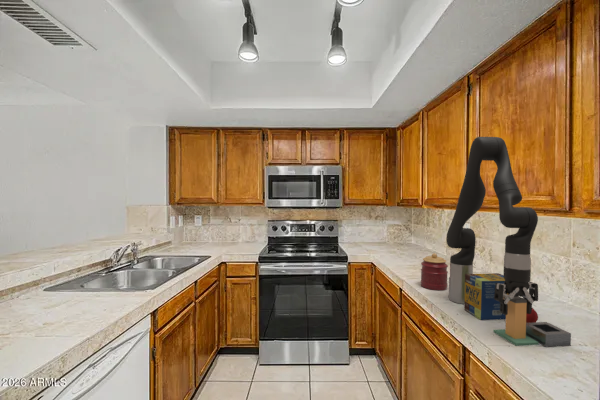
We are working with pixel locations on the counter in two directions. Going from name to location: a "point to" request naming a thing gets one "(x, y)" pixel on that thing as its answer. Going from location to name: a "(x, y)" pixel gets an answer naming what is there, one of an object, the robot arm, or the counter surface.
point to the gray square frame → (548, 334)
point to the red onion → (531, 316)
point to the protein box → (483, 296)
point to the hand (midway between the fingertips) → (515, 313)
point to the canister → (434, 273)
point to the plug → (516, 318)
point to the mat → (516, 341)
